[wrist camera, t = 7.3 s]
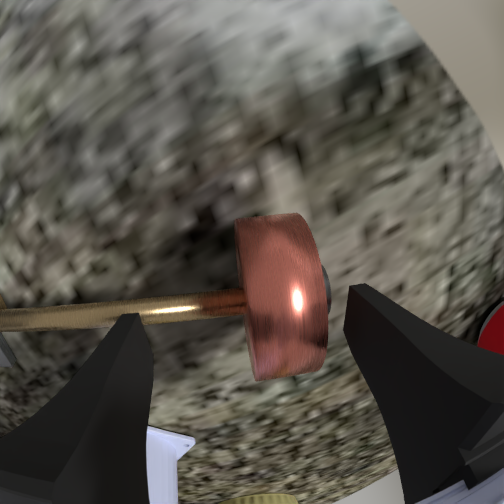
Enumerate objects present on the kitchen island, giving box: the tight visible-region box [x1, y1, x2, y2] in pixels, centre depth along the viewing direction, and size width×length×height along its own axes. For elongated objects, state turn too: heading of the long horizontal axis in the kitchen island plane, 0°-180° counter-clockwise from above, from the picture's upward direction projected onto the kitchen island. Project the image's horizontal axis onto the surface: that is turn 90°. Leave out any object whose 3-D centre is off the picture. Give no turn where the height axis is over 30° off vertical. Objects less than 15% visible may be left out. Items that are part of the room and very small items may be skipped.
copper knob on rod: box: [0, 213, 331, 381], centre depth 11 cm, size 17×6×6 cm, turn 93°
